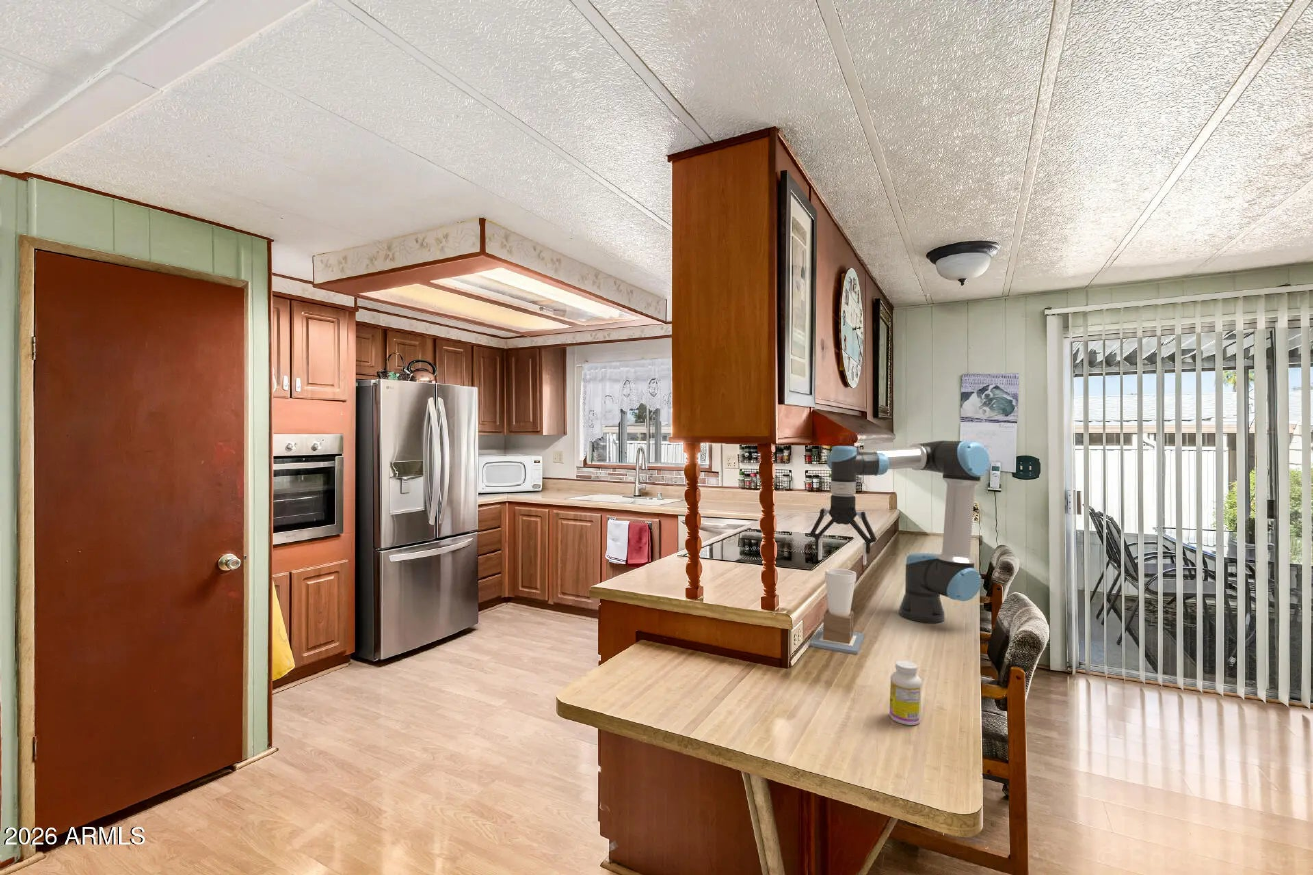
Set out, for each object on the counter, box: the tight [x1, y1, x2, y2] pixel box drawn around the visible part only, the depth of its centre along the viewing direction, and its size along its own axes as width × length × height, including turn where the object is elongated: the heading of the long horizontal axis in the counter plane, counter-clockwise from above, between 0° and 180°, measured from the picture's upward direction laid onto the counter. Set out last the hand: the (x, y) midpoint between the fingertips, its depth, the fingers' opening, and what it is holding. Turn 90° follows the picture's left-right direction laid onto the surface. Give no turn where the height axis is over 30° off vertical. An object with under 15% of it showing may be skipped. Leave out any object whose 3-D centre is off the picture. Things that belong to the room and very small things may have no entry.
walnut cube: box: [822, 607, 855, 644], centre depth 189 cm, size 8×8×8 cm
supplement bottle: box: [889, 660, 923, 726], centre depth 138 cm, size 7×7×13 cm
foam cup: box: [824, 568, 857, 616], centre depth 189 cm, size 10×9×13 cm
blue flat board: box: [809, 626, 866, 655], centre depth 189 cm, size 18×14×1 cm
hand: (842, 561), depth 189 cm, fingers open, 13 cm apart
